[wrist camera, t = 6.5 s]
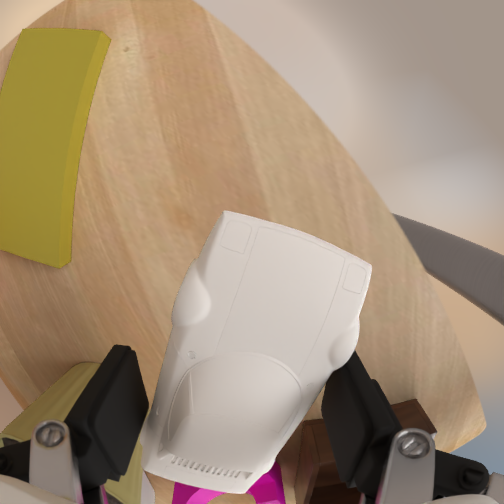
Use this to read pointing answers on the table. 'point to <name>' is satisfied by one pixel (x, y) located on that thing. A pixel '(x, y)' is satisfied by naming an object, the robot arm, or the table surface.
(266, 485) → the toy block
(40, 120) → the flat olive board
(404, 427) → the chest
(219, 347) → the toy car
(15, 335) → the table surface
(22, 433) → the potted cactus
